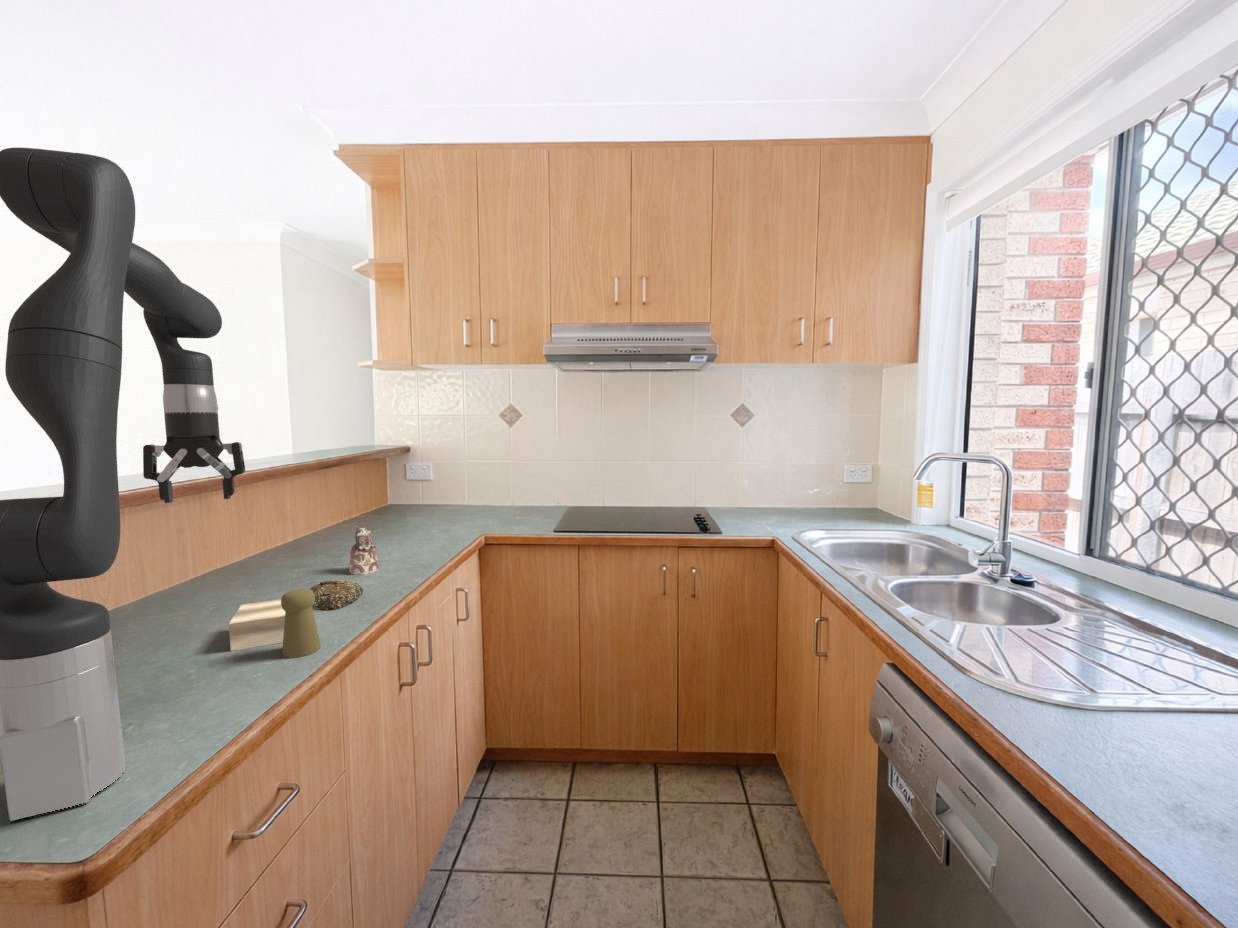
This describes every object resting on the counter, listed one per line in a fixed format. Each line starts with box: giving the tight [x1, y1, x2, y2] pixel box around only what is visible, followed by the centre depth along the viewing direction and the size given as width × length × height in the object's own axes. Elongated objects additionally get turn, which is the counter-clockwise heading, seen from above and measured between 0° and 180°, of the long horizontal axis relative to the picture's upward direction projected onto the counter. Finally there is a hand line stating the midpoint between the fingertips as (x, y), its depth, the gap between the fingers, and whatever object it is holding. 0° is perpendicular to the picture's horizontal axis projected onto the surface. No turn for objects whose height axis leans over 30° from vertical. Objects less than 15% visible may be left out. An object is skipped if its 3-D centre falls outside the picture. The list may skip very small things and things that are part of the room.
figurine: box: [348, 525, 380, 576], centre depth 143 cm, size 7×7×12 cm
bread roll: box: [309, 579, 364, 612], centre depth 120 cm, size 13×12×5 cm
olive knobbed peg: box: [280, 588, 322, 659], centre depth 94 cm, size 6×6×11 cm
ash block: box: [228, 598, 285, 652], centre depth 102 cm, size 11×11×5 cm
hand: (198, 500), depth 96 cm, fingers open, 8 cm apart
